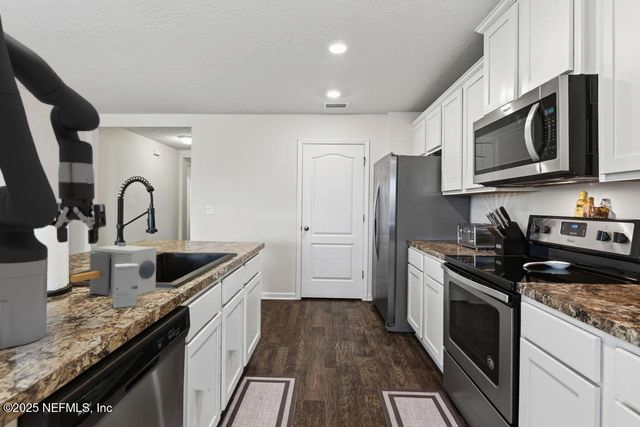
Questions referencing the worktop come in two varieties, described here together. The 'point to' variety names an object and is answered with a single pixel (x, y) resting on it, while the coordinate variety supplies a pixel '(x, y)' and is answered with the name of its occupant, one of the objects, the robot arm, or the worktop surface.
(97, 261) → the hatch
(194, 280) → the worktop surface
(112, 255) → the grey box with disc
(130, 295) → the skincare box
